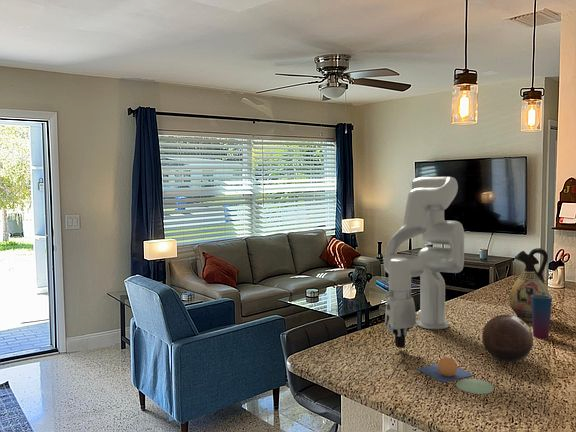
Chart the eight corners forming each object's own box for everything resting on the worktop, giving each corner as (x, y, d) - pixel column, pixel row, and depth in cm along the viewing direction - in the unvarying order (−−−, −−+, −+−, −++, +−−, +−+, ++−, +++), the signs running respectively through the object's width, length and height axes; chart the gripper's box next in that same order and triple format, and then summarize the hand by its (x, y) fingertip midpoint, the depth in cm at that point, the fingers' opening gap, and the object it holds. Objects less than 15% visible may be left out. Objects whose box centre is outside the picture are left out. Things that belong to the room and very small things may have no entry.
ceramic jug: (509, 322, 205) (510, 249, 203) (508, 312, 219) (509, 244, 217) (556, 326, 199) (558, 251, 197) (552, 316, 213) (554, 245, 211)
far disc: (448, 383, 146) (448, 382, 146) (474, 377, 150) (474, 376, 150) (474, 396, 137) (474, 396, 137) (501, 389, 141) (501, 388, 141)
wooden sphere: (535, 372, 153) (536, 323, 152) (482, 366, 159) (482, 319, 157) (530, 355, 167) (530, 311, 166) (481, 351, 173) (482, 308, 172)
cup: (553, 339, 183) (554, 299, 182) (533, 338, 184) (534, 298, 183) (547, 334, 190) (548, 294, 188) (528, 333, 191) (529, 294, 190)
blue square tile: (416, 369, 158) (416, 368, 158) (446, 362, 163) (446, 362, 163) (443, 383, 147) (443, 382, 147) (474, 375, 152) (474, 374, 152)
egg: (446, 364, 147) (444, 381, 149) (462, 361, 149) (460, 378, 151) (435, 355, 153) (433, 371, 154) (450, 352, 154) (448, 369, 156)
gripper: (388, 299, 167) (388, 353, 168) (424, 293, 173) (424, 346, 174) (375, 294, 173) (375, 346, 175) (410, 289, 180) (410, 340, 181)
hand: (400, 346), depth 174 cm, fingers closed
